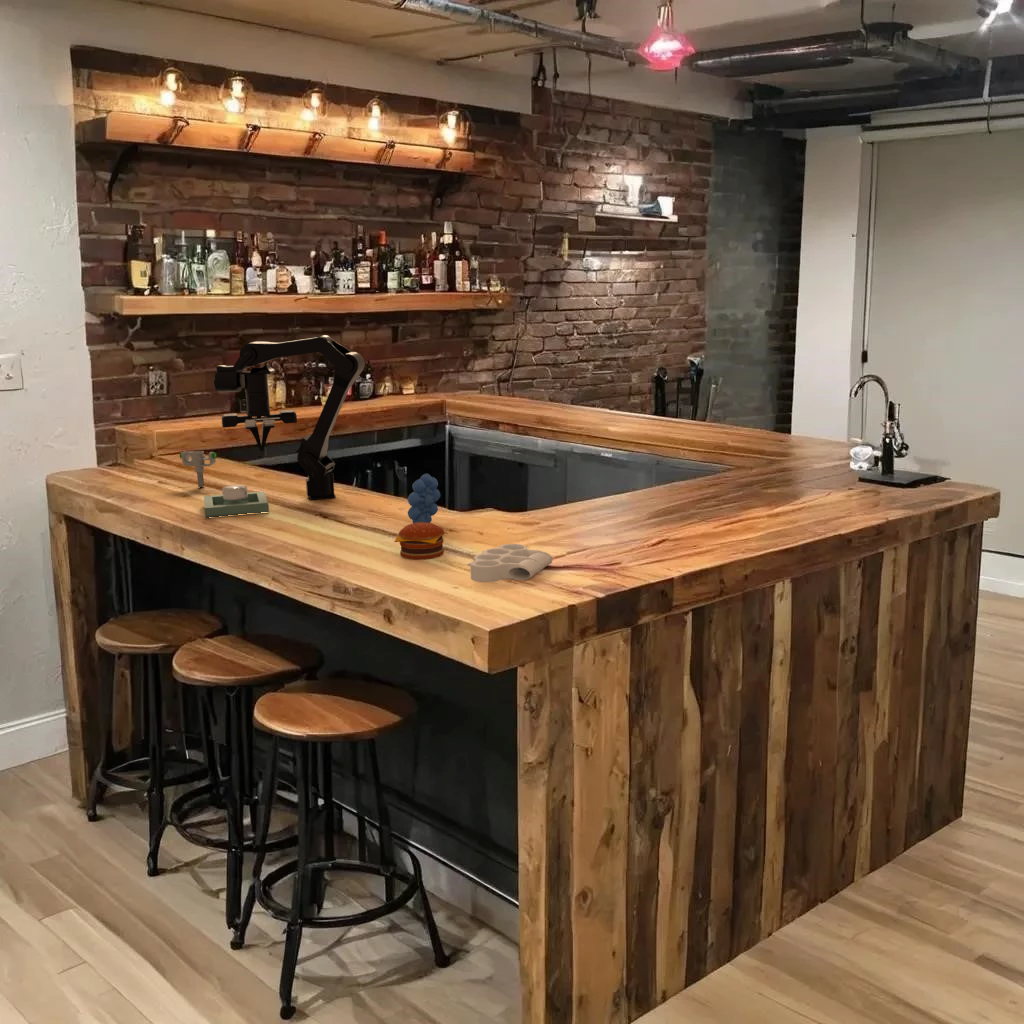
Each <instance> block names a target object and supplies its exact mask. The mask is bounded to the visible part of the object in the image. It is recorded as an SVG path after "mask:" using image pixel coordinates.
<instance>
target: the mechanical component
mask: <svg viewBox="0 0 1024 1024" xmlns="http://www.w3.org/2000/svg"><path fill="white" fill-rule="evenodd" d="M204 452H205V451H203V450H185V451H181V452H179V458H180V459H181V461H182V465H183V466H185V467H194V472H195V473H196V479H197V488H198V487H203V486H204V487H205V481H204V472H205V467H210V466H212V465H215V463H216V460H217V456H218V454H217V452H215V451H210V452H209V453H208V456H206V454H204ZM205 461H209V463H207V462H205ZM204 487H203V488H204Z"/></svg>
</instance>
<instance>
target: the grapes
mask: <svg viewBox="0 0 1024 1024" xmlns="http://www.w3.org/2000/svg"><path fill="white" fill-rule="evenodd" d="M438 486H439V483H438V480H437V479H436V477H434V476H431V475H430V473H424V474H423V475H421V476H420V478H418V479H416V480H415V481H414V482H413V483H412V490H413V492H411V493H410V494H409V495H408V497H407V502H408V504H409V506H411V507H410V508H409V509H408V511H407V517H408V518H409V519H410V520H412V521H411V522H412V524H413V523H420V522H426V523H432V521H433V520H432V519H433V518H432V516H435V515H436V514H437V512H438V511H439V508H438V505H437V504H436V502H437V501H438V500H439V499H440V498H441V492H440V490H439V489H438Z"/></svg>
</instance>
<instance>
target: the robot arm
mask: <svg viewBox="0 0 1024 1024" xmlns="http://www.w3.org/2000/svg"><path fill="white" fill-rule="evenodd" d="M312 353H320V354H321V355H322V356H324V358H325V359H326V360H327V361H328V362H329V363H330V364H332V365H333V366H334V371H333V380H332V382H333V383H332V386H331V389H330V391H329V393H328V395H327V397H326V400H325V402H324V404H323V408H322V410H321V412H320V415H319V417H318V419H317V422H316V424H315V426H314V429H313V430H312V433H311V435H310V434H307V435H305V436H304V437H302V438H301V441H300V444H299V447H298V449H297V450H296V451H295V452H296V454H297V456H296V460H297V462H298V463H297V464H298V465H299V466H300V467H301V468H302V469H303V470H304V472H305V476H306V477H307V478H306V479H305V488H306V489H305V490H306V496H307V497H310V498H309V499H310V500H321V499H320V498H323V499H333V498H336V494H335V485H334V484H335V483H334V472H333V470H334V469H335V465H336V463H335V461H334V460H333V459H332V458H331V457H330V456H328V455H327V453H328V450H329V440H330V439H329V438H330V434H331V432H332V431H333V428H334V426H335V423H336V421H337V418H338V416H339V414H340V411H341V409H342V407H343V404H344V402H345V400H346V398H347V395H348V393H349V391H350V388H352V386H353V385H354V383H355V382H356V381H357V380H358V378H359V376H360V375H361V374H362V372H363V371H364V368H365V366H366V365H365V364H366V363H365V359H364V357H363V355H361V354H360V353H358V352H356V351H351V350H350V349H348V348H347V347H346V346H344V345H342V344H340V343H339V342H337V341H335V340H334V339H333V338H332V337H331V336H329V335H327V334H326V335H320V336H318V337H317V336H316V337H311V338H304V339H297V340H289V341H283V342H282V341H281V342H273V341H271V342H270V341H253V342H249V343H244V345H242V346H241V347H240V351H239V357H238V359H236V362H235V363H234V364H233V365H224V364H221V365H217V366H216V371H215V373H214V379H213V383H214V384H213V385H214V388H215V390H216V392H218V393H240V392H241V391H242V389H243V388H245V398H246V399H239V408H240V413H246V415H239V416H238V414H237V413H236V412H235V413H223V414H222V415H221V426H222V428H236V427H237V425H239V424H244V427H245V430H250V432H251V435H253V437H254V439H255V442H256V446H257V447H258V449H259V451H260V453H261V452H264V451H265V447H266V443H267V439H268V435H269V434H270V432H271V429H272V428H273V429H274V428H275V427H276V426H275V422H278V421H279V422H280V421H282V423H284V424H296V423H297V422H298V417H297V413H296V411H295V410H294V409H285V410H282V409H281V410H279V413H271V410H270V409H271V407H270V394H269V382H268V381H269V380H268V375H272V374H274V373H276V370H275V369H274V368H273V367H272V366H271V365H269V363H267V362H270V361H272V360H273V361H274V360H276V359H279V358H285V357H291V356H298V355H299V356H300V355H306V354H312ZM265 363H266V364H265ZM260 364H264V365H263V366H259V367H257V365H260ZM249 368H251V369H250V370H246V369H249ZM257 423H261V438H260V433H259V429H258V428H259V427H258V425H257Z"/></svg>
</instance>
